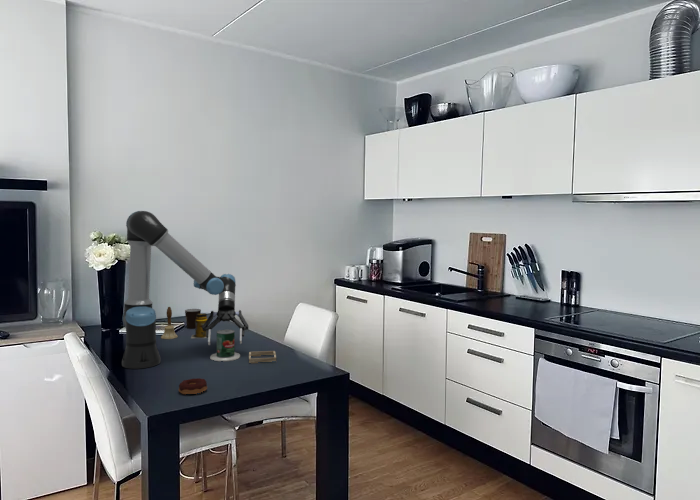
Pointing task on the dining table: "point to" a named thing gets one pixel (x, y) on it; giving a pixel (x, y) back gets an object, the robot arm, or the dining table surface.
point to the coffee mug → (191, 317)
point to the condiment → (200, 326)
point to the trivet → (215, 358)
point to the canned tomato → (225, 343)
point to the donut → (193, 386)
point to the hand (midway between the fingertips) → (225, 343)
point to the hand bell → (169, 327)
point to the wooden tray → (259, 353)
